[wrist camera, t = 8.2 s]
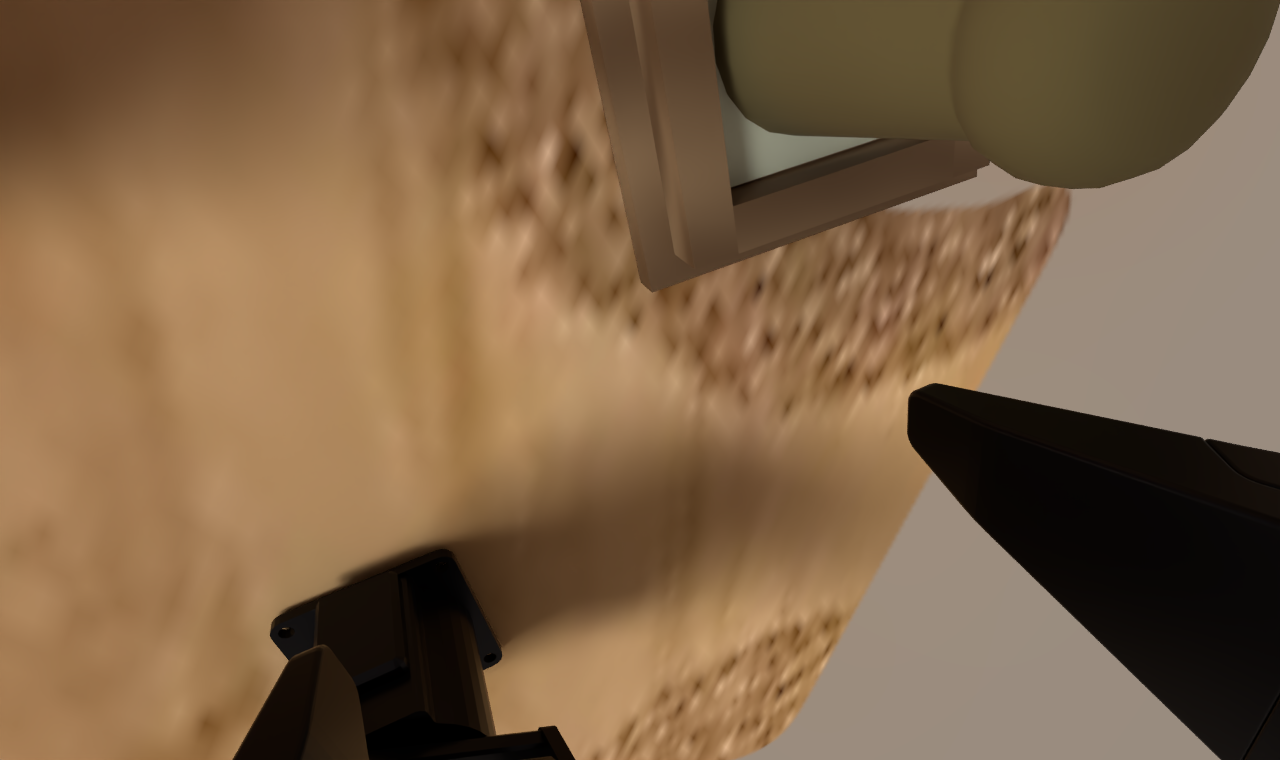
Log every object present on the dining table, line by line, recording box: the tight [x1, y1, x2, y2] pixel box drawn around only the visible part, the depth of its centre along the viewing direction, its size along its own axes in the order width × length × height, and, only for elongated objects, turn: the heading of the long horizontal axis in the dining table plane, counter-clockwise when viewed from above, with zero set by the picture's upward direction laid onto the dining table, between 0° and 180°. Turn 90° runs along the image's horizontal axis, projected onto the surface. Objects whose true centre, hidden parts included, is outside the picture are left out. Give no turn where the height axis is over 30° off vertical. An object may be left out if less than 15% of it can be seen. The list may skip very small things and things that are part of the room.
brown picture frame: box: [580, 0, 990, 292], centre depth 19 cm, size 13×13×2 cm
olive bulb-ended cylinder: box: [713, 0, 1280, 189], centre depth 15 cm, size 6×6×11 cm
